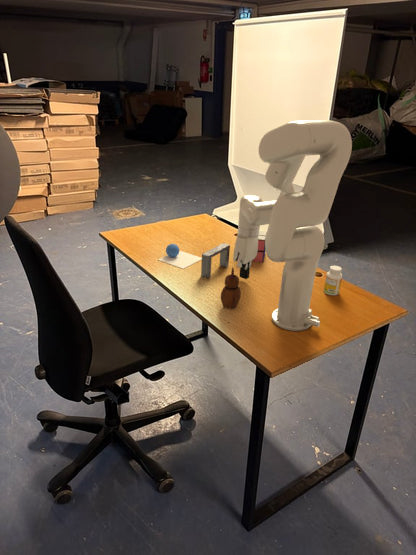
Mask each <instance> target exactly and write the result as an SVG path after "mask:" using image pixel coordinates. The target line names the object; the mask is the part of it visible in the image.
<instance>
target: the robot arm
mask: <svg viewBox="0 0 416 555" xmlns="http://www.w3.org/2000/svg"><path fill="white" fill-rule="evenodd" d="M352 147H353V142H352V136H351V133H350V131H349V129H348V127H346V125H345V124H343V123H341V122H339V121H334V120H326V119H325V120H324V119H323V120H322V119H321V120H320V119H319V120H315V119H314V120H294V121H290V122H286V123H284V124H282V125H280V126H278V127H276V128H272V129H271V130H269V131H267V132H266V133H265V134H264V135H263V136H262V138H261V139H260V141H259V145H258V155H259V158H260V159H261V161H262V162H263V163H266V164H269V165H268V167H267V169H266V172H265V176H264V177H265V180H266V182H267V183H268V184H269V185H270V186H271V187H272V188H274V189H276V190H278V191H280V193H279V195H278V196H277V199H276V200H266V201H263V200H262V198H261V197H260V196H258V195H254V194H252V195H251V194H246V195H242V197H240V201H239V212H238V224H237V226H238V228H237V235H236V239H235V243H234V250H233V256H232V258H233V259H232V261H233V262H237V263H236V267H237V268H239V278H241V279H244V280H247V279H249V278H250V272H251V267H252V262H253V261H252V260H253V259H254V258H255V257H256V256H257V251H258V236H259V231H260V226H266V225H267V226H268V227H267V231H266V232H267V234H266V239H265V255H266V257H267V258H268V259H269V260H271V261H272V262H274V263H284V262H285V263H284V266H283V269H282V275H281V283H280V291H279V297H278V304H277V309H275V310H273V311H272V313H271V320H272V322H273V323H274V324H275V325H276V326H277V327H279V328H281V329H284V330H286V331H294V332H300V331H305V330H307V329H309V328H310V327H311V326H313V327H316V328H319V327H320V324H321V321H320V317H319V316H316V315H313V314H312V312H313V310H312V309H311V308H310V307H311V306H310V305H311V300H312V295H313V288H314V282H315V277H316V272H317V269H318V264H319V260H320V258H321V256H322V253H323V251H324V247H325V242H326V241H325V235H324V233H323V231H322V229H321V228H319V227H318V225H319V226H320V225H321V224H323V223H325V222H326V220H327V218H328V217H329V214H330V213H331V212H330V211H331V209H332V205H333V203H334V199H335V196H336V194H337V190H338V187H339V184H340V181H341V178H342V176H343V174H344V171H346V168H347V166H348V164H349V161H350V158H351V154H352V149H353V148H352ZM306 156H319V158H318V159H317V160H316V161H315V162H314V163H313V165H312V166H311V168H310V169H309V170H308V173H307V175H306V177H305V182H304V185H303V187H302V189H301V190H300V191H298V192H295V187H294V185H293V182H294V180H295V178H296V176H297V175H298V172H299V170H300V168H301V166H302V163H303V162H304V160H305V157H306Z"/></svg>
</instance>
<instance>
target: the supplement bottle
mask: <svg viewBox="0 0 416 555" xmlns="http://www.w3.org/2000/svg"><path fill="white" fill-rule="evenodd" d="M342 279H343V274H342V267H341V266H338V265H330V267H329V271H327V272H326V277H325V279H324V280H325V282H324V286H323V292H324V293H325V294H327V295H329V296H337V295H339V294H340V289H341V285H342Z"/></svg>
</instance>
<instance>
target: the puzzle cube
mask: <svg viewBox="0 0 416 555" xmlns="http://www.w3.org/2000/svg"><path fill="white" fill-rule="evenodd" d="M266 234H267V231H260V230H259V236H258V251H257V256H256V257H255V258H254V259H253V260H252V262H255V263H264V259H265V257H266V256H265V255H266V251H265V239H266Z"/></svg>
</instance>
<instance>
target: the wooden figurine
mask: <svg viewBox="0 0 416 555" xmlns="http://www.w3.org/2000/svg"><path fill="white" fill-rule="evenodd" d="M230 273H231V274H227V275H226V276H225V278H224V287H223V288H222V290H221V293H220V300H221V301H220V302H221V304H222V306H223V307H224V308H225V309H227V310H233V309H235V308H237V307H238V305H239V303H240V300H241V298H242V297H241V296H242V291H241V288H240V286H239V285H240V277H239V276H238V275H236V274H235V270H234V267H232V268H231V271H230Z"/></svg>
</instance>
